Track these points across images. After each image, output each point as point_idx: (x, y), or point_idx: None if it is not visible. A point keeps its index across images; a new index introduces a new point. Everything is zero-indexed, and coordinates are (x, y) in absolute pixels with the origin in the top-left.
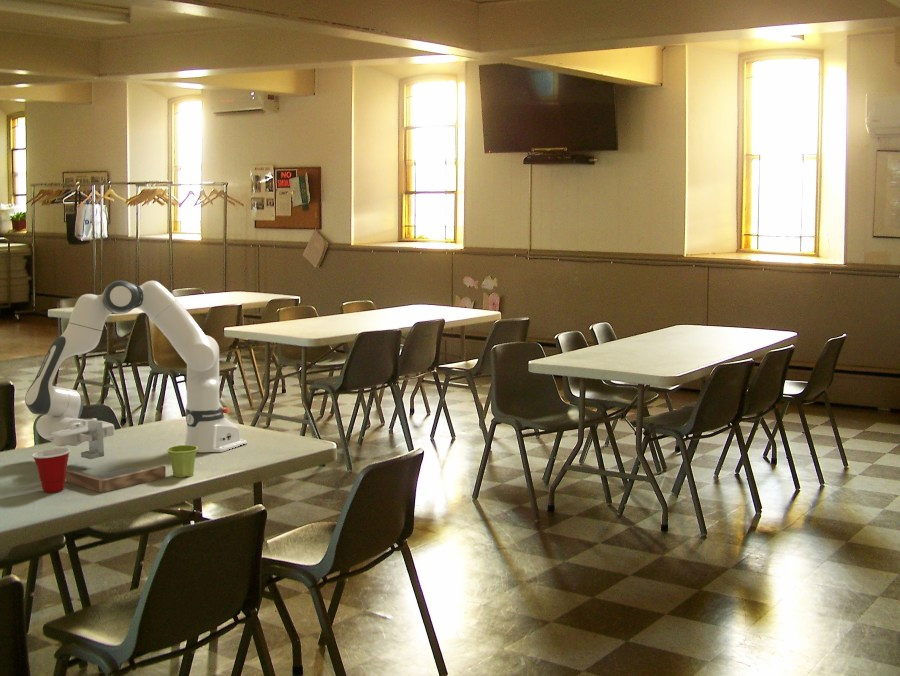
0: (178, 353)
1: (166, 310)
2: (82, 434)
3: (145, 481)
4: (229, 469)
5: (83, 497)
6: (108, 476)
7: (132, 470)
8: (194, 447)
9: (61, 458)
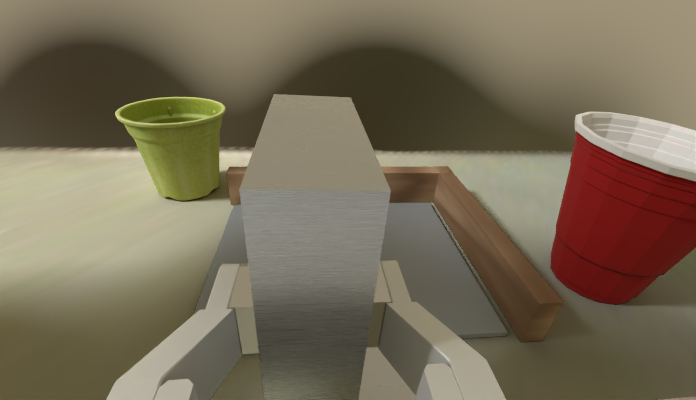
0: None
1: None
2: (460, 363)
3: None
4: (81, 166)
5: (494, 194)
6: None
7: None
8: (129, 110)
9: (600, 133)
